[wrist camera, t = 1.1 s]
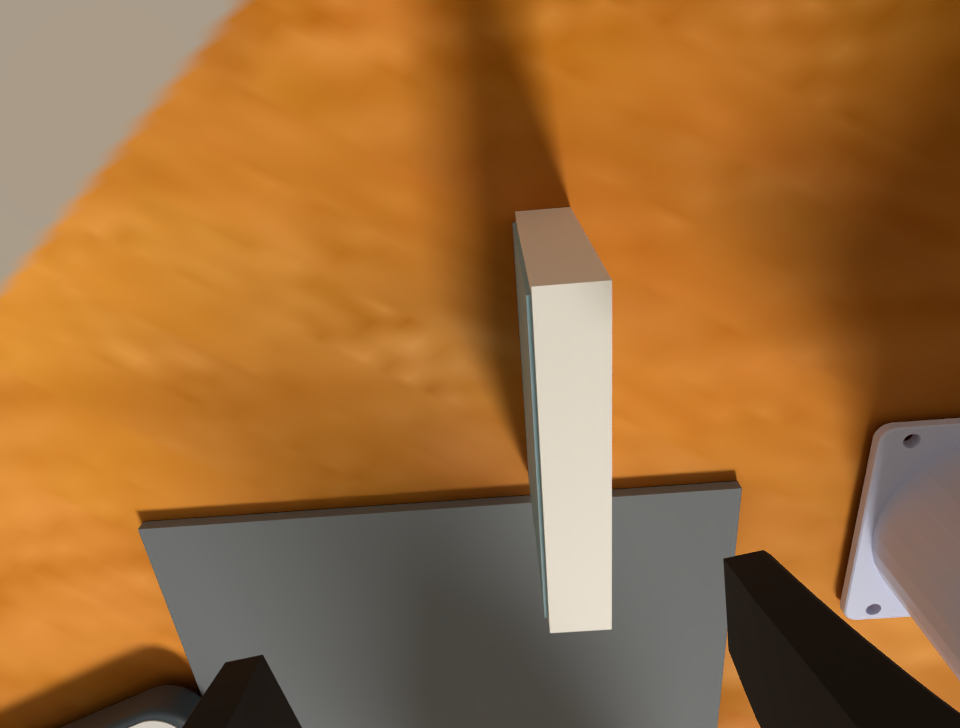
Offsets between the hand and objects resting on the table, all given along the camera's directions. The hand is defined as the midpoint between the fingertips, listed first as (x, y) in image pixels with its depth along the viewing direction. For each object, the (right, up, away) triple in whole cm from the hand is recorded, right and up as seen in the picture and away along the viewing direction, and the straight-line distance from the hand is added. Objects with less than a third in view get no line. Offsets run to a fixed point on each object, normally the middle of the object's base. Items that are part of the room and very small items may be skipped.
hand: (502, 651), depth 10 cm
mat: (-1, -7, +15) cm, 17 cm away
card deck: (+2, +5, +10) cm, 11 cm away
